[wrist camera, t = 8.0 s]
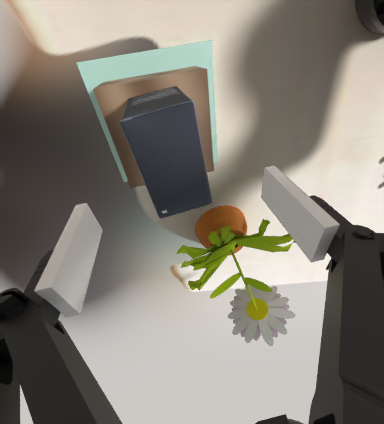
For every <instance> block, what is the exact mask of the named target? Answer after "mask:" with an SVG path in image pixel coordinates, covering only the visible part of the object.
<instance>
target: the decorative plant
mask: <svg viewBox="0 0 384 424" xmlns="http://www.w3.org/2000/svg"><path fill="white" fill-rule="evenodd" d="M269 223H270V222H269V221H268V220H264V219H263V221H262V223H261V225H260V227H259V233H257V234H253V235H250V236H247V235H246V234H247V223H246V220H245V217H244V214H243V213H242V212H241V211H240V210H239V209H237V208H236V207H232V206H219V207H215V208H213V209H211V210H209V211H207V212H206V213H205V214H203V215H202V216H201V217H200V219H199V220H198V222H197V224H196V230H195V231H196V235H197V237H198V239H199V240H200V242H201V244H202V245H203V246H204V247H205V248H207V249H201V248H193V247H187V246H182V247H181V248H180V250H178V252H177V254H178V253H188V254H189V255H190V256H191V257H192V258H193V260H191V261H189V262H184V263H183V264H182V267H186V266H189V265H191V266H194V269H193V270H198V269H201V268H206V270H205V272H204V273H203V275H202V276H201V278H200V279H199V280H197V281H189V283H188V284H189V286H190V288H191V289H192V290H194V289H196V288H198V289H199V291H200V289H201V288H202V287H203V286H204V284H205V283H206V282H207V281H208V279H209V278H210V277H211V276H212V274H213V273H214V272H215V271H216V269H217V268H218V267H219V266H220V265H221V263H222V262H223V261H224V260H225V258H226V257H227V256H228V255H232V256H233V258H234V260H235V263H236V265H237V267H238V270H239V272H240V273H237V274H235V275H233V276H232V277H230V278H229V279H227V280H226V281H225V282H223V283H222V284H221V285H220V286H219V287H218V288H216V289H215V291H214V292H213V293H212V294H211V296H210V298H214V297H216V296H218V295H220V294H221V293H223V292H224V291H225V290H227V289H228V288H229V287H231V286H232V285H233V284H234V283H235V282H236V281H237V280H238V279H239V277H240V276H241V277H242V279H243V281H244V283H245V285H246V286H245V288H246V290H244V289H243V290H241V289H236V290H235V292H236V294H237V295H238V296H235V297H234V301H231V302H230V304H231V305H232V306H233V308H232V311H233V312H231V313H230V314H229V315H228V318H230V319H234V320H233V323H234V324H236V325H235V327H234V329H233V332H232V333H233V335H236V334H238V333H240V332H241V336H242V337H244V336H245V341H246V342H247V343H249V342H250V341H251V340H252V339H253V338H254V339H255V340H258V338H259V336H260V333H261V334H262V336H263V338H264V340H265V341H266V343H267V344H268V345H270V346H272V345H273V336H274V337H277V336H278V333H277V332H279V333H281V334H287V330H286V328H285V327H284V325H285V324H286V320H285V319H288V318H294V317H295V314H294V313H293V312H292V311H289V310H287V309H288V308H289V305H287V304H286V303H287V302H288V301H289V299H288V298H286V297H281V298H280V296H281V295H280V294H276V292H277V287H276V286H273V287H271V288H270V287H269V286H267V285H266V284H264V283H263V282H260V281H258V280H255V279H252V278H244V276H243V273H242V271H241V269H240V266H239V264H238V262H237V260H236V257H235V255H234V253H236V252H238V251H239V250H240V249H241V248H242V247H243V246H246V247H250V248H255V249H260V250H265V251H270V252H277V251H288V250H289V248H290V247H291V245H292V244H293V243H296V242H295V241H293V243H292V244H290V245H288V246H285V247H280V246H276V245H279V244H283V243H286V242H290V241H291V240H292V239H293V238H292V237H291V236H290V234H287V235H284V236H281V237H280V236H262V235H263V234H264V232H265V230H266V227H267V225H268V224H269ZM208 252H211V253H209V254H208V255H206V256H203V257H199V256H201V255H204V254H206V253H208ZM196 257H199V258H196ZM194 258H196V259H194ZM182 267H181V268H182ZM284 318H285V319H284Z"/></svg>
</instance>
